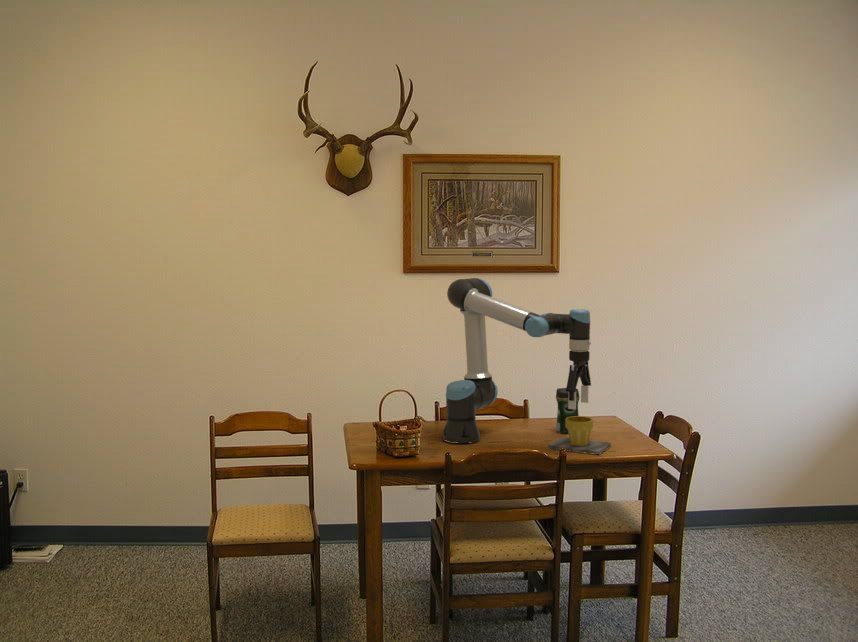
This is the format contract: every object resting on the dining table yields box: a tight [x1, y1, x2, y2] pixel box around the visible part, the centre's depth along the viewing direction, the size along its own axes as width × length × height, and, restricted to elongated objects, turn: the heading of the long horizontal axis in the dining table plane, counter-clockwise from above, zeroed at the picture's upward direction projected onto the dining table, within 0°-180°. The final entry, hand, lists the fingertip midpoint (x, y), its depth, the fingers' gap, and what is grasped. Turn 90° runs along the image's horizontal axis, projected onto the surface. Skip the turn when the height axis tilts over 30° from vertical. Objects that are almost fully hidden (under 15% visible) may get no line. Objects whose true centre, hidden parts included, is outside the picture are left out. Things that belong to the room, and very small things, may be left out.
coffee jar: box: [555, 387, 581, 434], centre depth 299 cm, size 10×8×19 cm
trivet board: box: [547, 436, 612, 455], centre depth 275 cm, size 20×14×2 cm
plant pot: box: [565, 415, 594, 446], centre depth 274 cm, size 10×10×10 cm
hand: (578, 405), depth 274 cm, fingers open, 13 cm apart
